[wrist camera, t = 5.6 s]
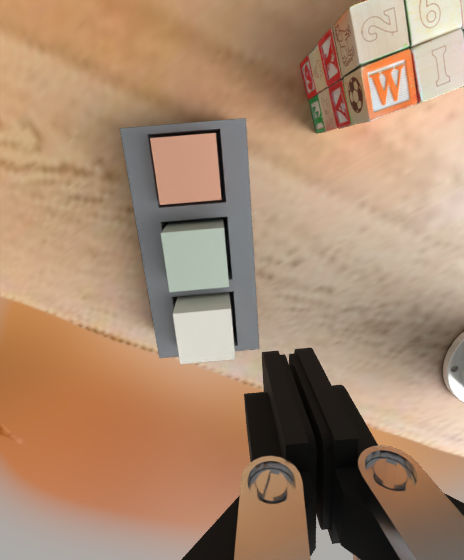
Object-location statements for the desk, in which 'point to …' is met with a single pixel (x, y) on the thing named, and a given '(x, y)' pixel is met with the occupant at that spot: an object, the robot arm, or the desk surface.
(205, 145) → the terracotta button
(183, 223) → the sage button
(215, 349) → the cream button
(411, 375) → the desk surface
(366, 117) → the stack of blocks
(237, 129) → the frame
